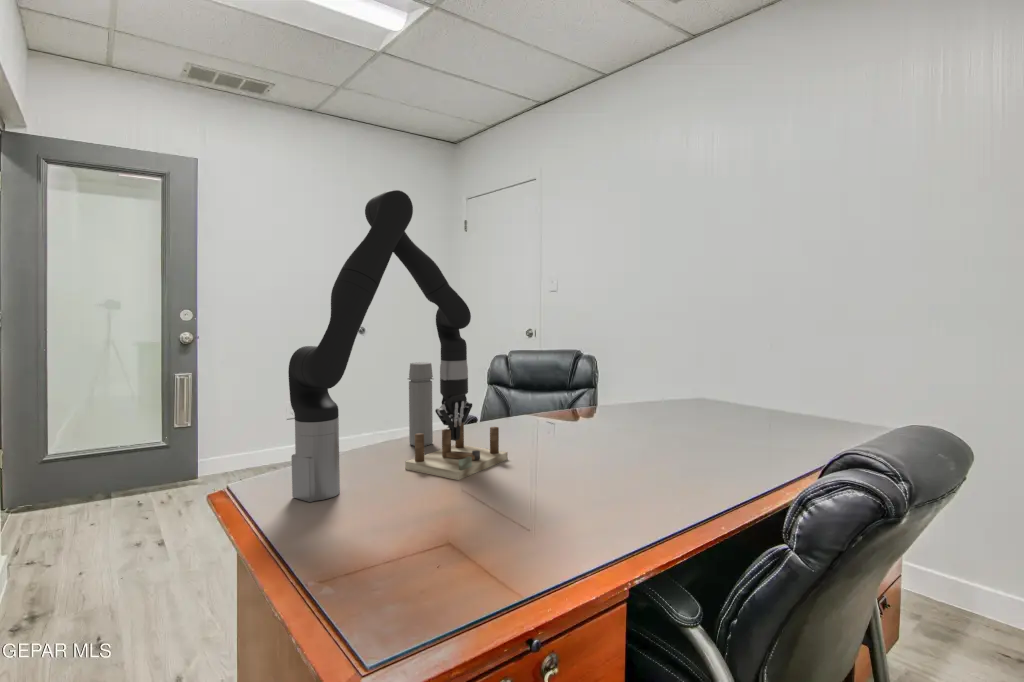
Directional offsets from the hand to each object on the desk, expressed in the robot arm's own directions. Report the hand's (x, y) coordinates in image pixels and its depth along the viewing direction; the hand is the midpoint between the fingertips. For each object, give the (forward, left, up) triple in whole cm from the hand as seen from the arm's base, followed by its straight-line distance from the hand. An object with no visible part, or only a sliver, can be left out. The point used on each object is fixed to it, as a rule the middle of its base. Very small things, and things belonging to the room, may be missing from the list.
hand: (454, 439), depth 150 cm
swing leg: (-3, -4, -4) cm, 6 cm away
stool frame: (-2, -2, -6) cm, 7 cm away
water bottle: (+10, +21, -6) cm, 24 cm away
